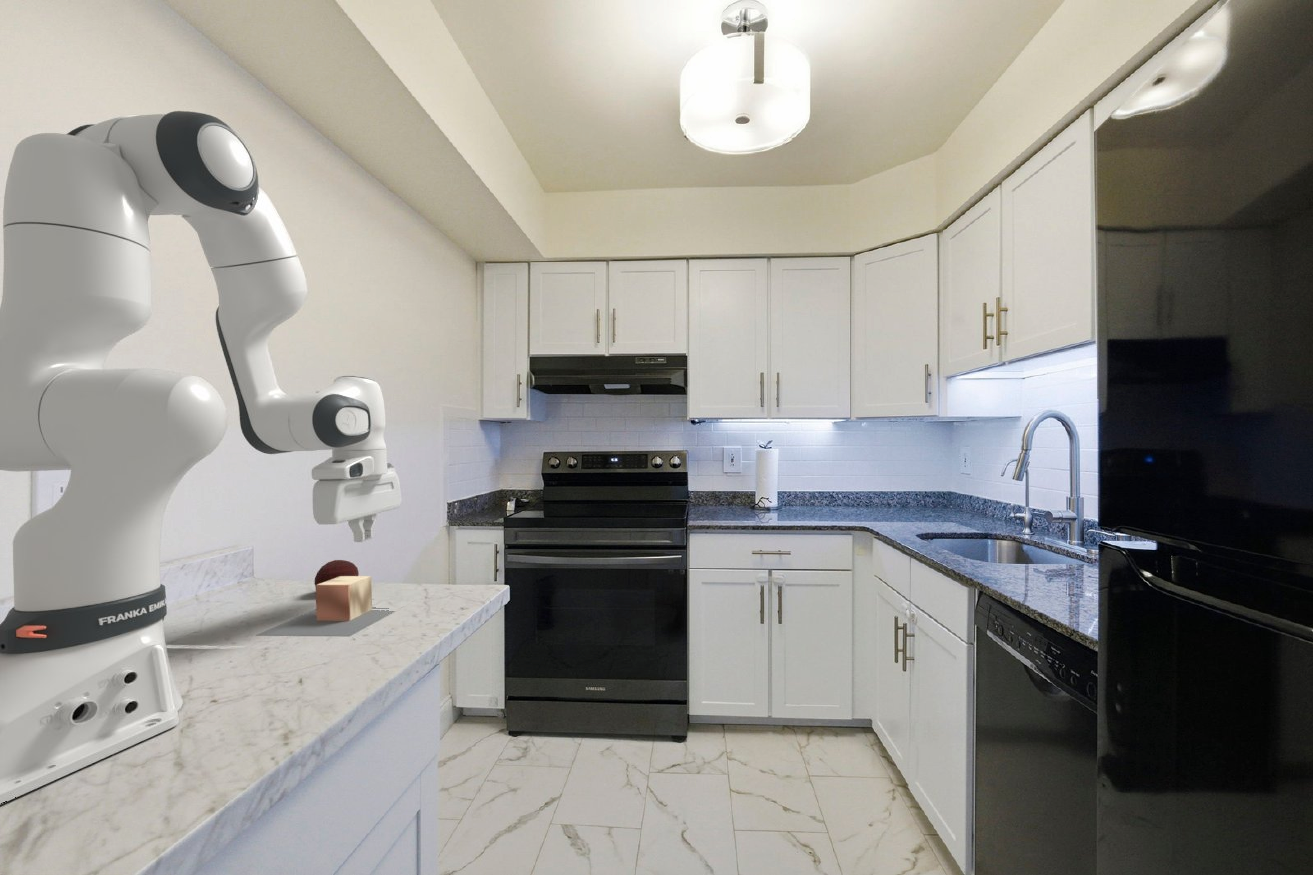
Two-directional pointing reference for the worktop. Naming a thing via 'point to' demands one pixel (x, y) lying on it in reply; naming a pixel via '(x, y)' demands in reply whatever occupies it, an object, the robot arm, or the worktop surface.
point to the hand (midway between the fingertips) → (363, 540)
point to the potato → (335, 571)
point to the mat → (326, 625)
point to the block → (343, 598)
